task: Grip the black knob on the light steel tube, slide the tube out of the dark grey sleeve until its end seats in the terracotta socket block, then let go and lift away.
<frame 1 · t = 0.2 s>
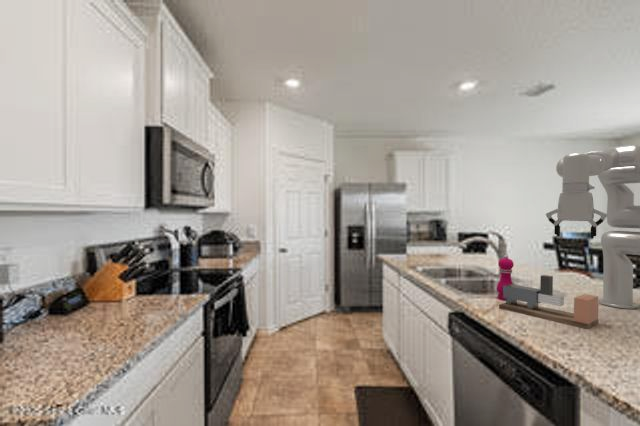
hand: (574, 237, 120), 30 cm above the worktop, tool pointing down, fingers open, 9 cm apart
base board: (545, 315, 130), on the worktop
socket block: (586, 324, 119), resting on base board
outer sleeve: (521, 309, 137), resting on base board
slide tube: (534, 287, 133), point 10 cm above the worktop, slide at 0.0 cm
pepper mill: (505, 299, 154), on the worktop
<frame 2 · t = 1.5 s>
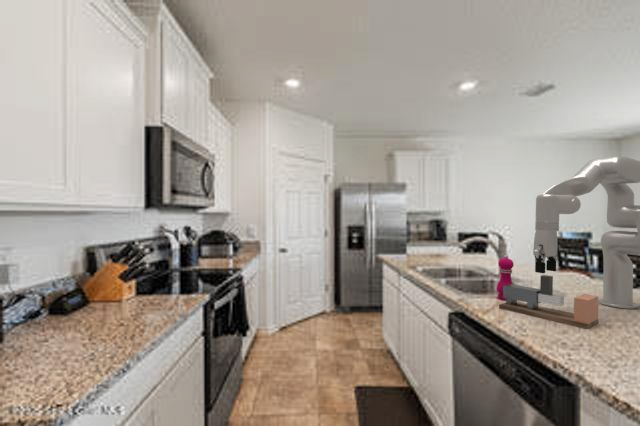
hand: (545, 271, 129), 17 cm above the worktop, tool pointing down, fingers open, 9 cm apart
nothing on the worktop moved.
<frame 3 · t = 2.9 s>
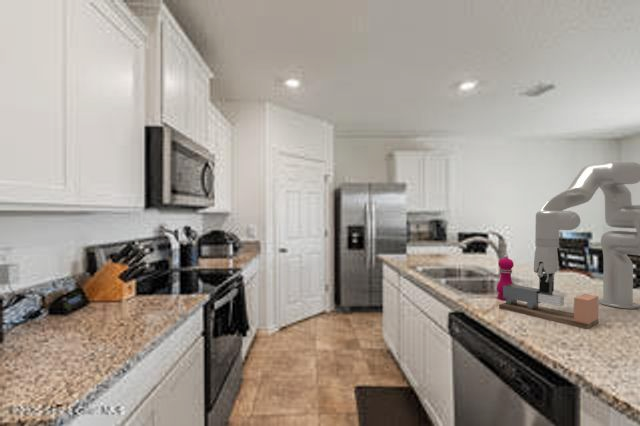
hand: (546, 291, 129), 9 cm above the worktop, tool pointing down, fingers closed on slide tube, 3 cm apart
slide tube: (534, 287, 133), point 10 cm above the worktop, slide at 0.0 cm, touching gripper
everything else where it was.
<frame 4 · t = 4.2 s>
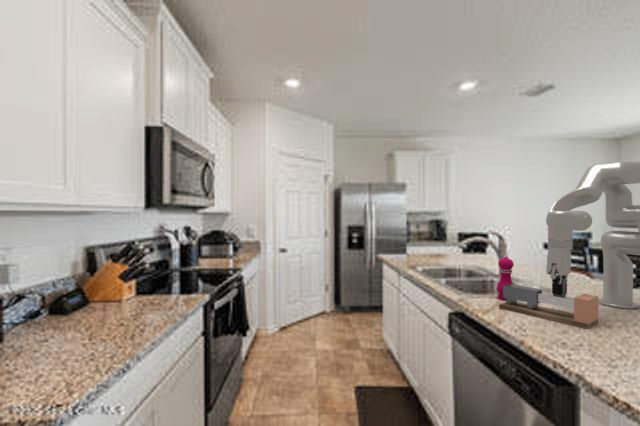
hand: (559, 293, 126), 9 cm above the worktop, tool pointing down, fingers closed on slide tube, 3 cm apart
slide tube: (546, 289, 129), point 10 cm above the worktop, slide at 4.3 cm, touching gripper
everything else where it was.
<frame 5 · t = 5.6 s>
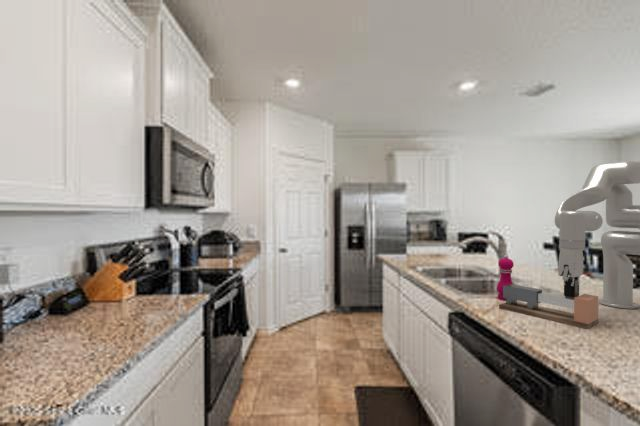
hand: (571, 295, 123), 9 cm above the worktop, tool pointing down, fingers closed on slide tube, 3 cm apart
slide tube: (557, 291, 126), point 10 cm above the worktop, slide at 8.1 cm, touching gripper
everything else where it was.
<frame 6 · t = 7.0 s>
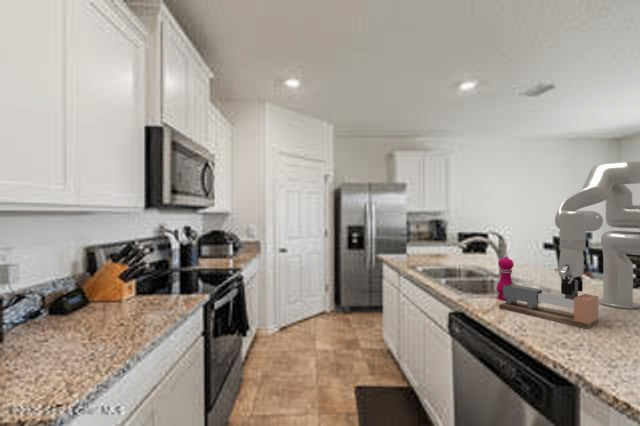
hand: (571, 292, 123), 10 cm above the worktop, tool pointing down, fingers open, 9 cm apart
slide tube: (557, 291, 126), point 10 cm above the worktop, slide at 8.0 cm
everything else where it was.
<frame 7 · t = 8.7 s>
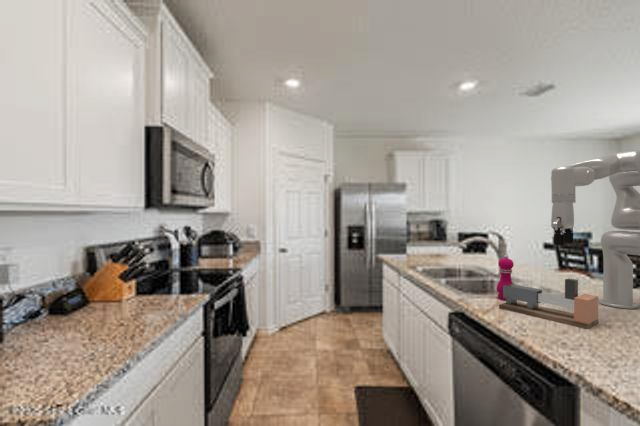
hand: (563, 243, 131), 27 cm above the worktop, tool pointing down, fingers open, 9 cm apart
nothing on the worktop moved.
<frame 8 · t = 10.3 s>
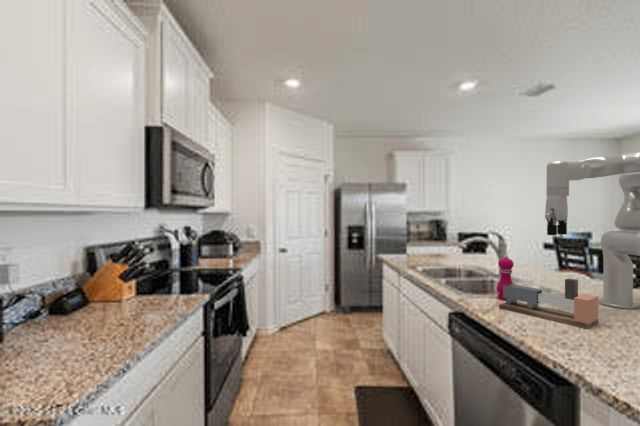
hand: (557, 234, 137), 30 cm above the worktop, tool pointing down, fingers open, 9 cm apart
nothing on the worktop moved.
at the end: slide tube slide at 8.0 cm; the gripper is holding nothing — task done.
